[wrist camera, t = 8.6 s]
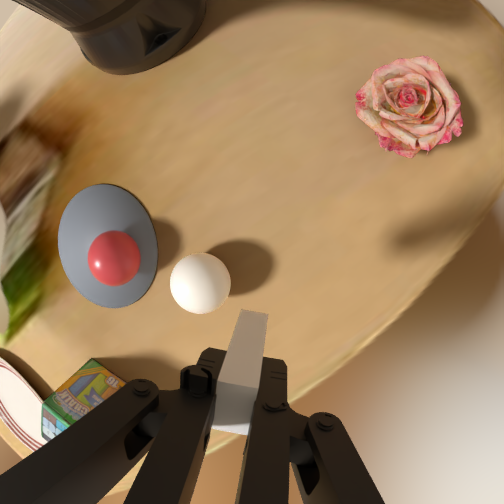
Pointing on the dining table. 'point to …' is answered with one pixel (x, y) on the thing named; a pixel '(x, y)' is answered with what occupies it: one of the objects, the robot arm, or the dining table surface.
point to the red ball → (114, 258)
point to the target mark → (95, 223)
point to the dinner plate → (20, 407)
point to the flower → (410, 106)
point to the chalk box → (77, 398)
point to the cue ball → (200, 283)
